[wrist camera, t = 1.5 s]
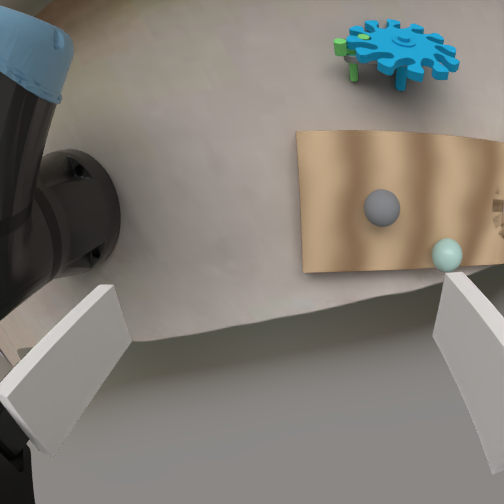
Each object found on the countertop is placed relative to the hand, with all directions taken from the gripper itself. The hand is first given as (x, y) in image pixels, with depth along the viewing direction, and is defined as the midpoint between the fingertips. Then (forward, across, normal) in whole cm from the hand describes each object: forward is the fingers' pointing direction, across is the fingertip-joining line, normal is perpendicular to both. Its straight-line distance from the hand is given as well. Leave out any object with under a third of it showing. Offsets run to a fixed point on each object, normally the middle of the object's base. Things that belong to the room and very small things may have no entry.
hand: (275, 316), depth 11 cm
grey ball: (+16, +8, 0) cm, 18 cm away
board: (+20, +17, -1) cm, 26 cm away
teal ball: (+16, +15, -5) cm, 23 cm away
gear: (+21, +11, +14) cm, 27 cm away
